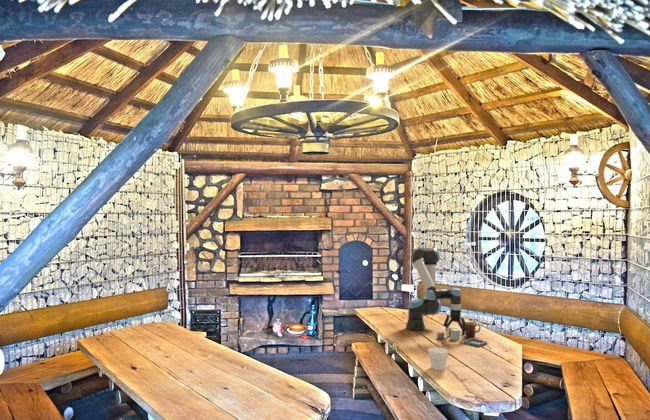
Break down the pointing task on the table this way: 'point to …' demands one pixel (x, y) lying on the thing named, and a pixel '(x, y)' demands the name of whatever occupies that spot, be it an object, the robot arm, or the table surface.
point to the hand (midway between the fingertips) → (455, 337)
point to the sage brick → (454, 334)
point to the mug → (471, 329)
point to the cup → (438, 357)
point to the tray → (475, 342)
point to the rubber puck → (440, 335)
